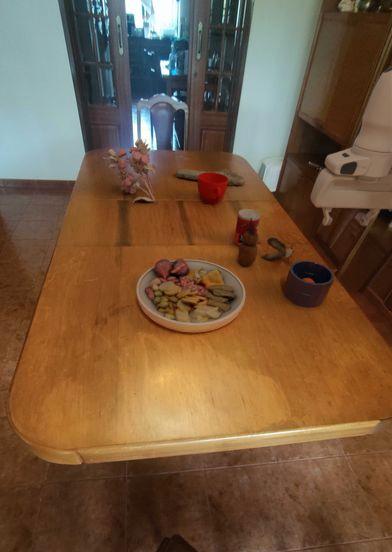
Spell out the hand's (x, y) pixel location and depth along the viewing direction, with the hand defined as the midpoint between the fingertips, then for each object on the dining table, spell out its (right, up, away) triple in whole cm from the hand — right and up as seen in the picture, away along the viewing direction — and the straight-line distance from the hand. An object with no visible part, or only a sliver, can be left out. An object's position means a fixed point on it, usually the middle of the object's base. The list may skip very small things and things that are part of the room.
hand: (344, 225), depth 78 cm
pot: (-4, -14, +19) cm, 24 cm away
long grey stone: (-30, +54, +82) cm, 102 cm away
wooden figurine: (-20, -2, +30) cm, 36 cm away
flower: (-64, +36, +62) cm, 96 cm away
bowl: (-38, -17, +13) cm, 44 cm away
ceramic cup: (-30, +34, +62) cm, 77 cm away
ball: (-3, -12, +17) cm, 21 cm away
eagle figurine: (-8, +1, +33) cm, 34 cm away
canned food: (-19, +8, +39) cm, 44 cm away
